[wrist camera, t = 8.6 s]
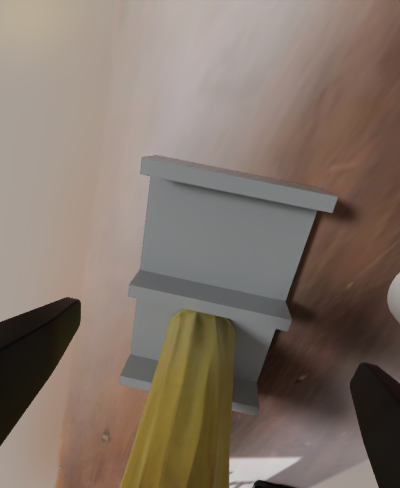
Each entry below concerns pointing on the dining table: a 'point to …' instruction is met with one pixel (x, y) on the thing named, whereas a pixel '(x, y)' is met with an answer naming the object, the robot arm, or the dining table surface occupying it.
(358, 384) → the robot arm
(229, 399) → the vase
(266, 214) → the tiered shelf
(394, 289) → the coffee cup
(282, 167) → the dining table surface
